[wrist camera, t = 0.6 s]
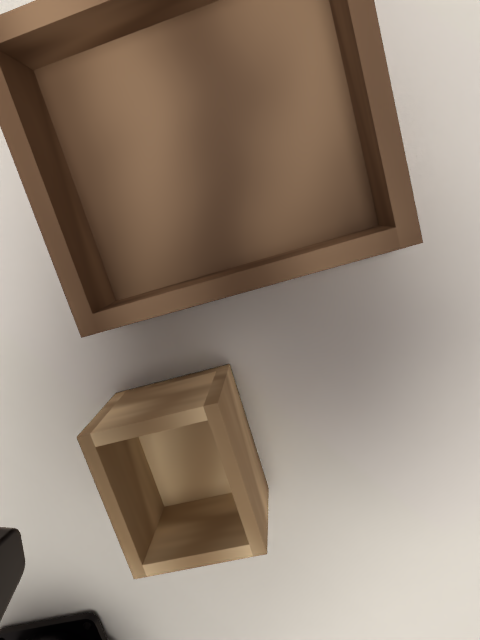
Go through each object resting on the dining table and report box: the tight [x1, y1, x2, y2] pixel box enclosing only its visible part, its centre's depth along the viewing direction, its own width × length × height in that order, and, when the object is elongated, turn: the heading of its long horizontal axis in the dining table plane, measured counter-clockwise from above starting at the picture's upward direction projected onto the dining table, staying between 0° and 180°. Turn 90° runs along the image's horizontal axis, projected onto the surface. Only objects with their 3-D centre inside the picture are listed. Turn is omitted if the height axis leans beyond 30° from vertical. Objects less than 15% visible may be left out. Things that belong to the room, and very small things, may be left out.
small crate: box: [77, 364, 269, 579], centre depth 20 cm, size 6×7×4 cm
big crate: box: [0, 0, 423, 338], centre depth 17 cm, size 14×12×4 cm
